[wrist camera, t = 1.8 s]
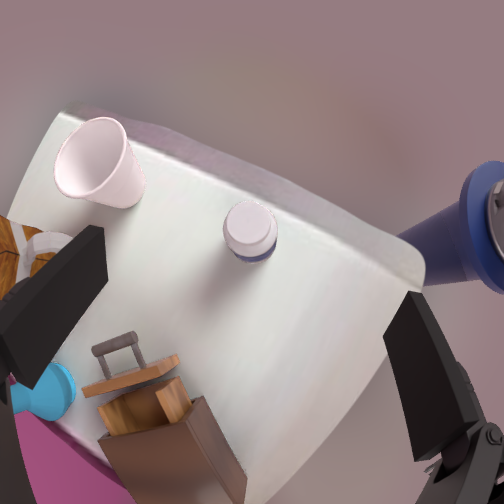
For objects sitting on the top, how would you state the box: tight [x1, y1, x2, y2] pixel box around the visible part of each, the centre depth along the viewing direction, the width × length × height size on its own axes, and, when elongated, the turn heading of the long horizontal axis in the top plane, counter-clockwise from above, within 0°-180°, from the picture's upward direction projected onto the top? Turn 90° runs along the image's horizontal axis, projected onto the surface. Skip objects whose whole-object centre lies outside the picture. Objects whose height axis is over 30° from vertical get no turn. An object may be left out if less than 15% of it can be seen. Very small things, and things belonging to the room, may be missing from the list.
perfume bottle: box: [10, 362, 76, 421], centre depth 27 cm, size 9×9×15 cm
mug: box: [0, 215, 73, 300], centre depth 30 cm, size 20×14×15 cm
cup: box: [54, 117, 146, 209], centre depth 33 cm, size 10×10×11 cm
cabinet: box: [97, 396, 247, 504], centre depth 28 cm, size 14×12×9 cm
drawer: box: [82, 331, 192, 436], centre depth 30 cm, size 17×11×7 cm, turn 23°
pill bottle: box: [223, 201, 278, 264], centre depth 31 cm, size 5×5×10 cm
